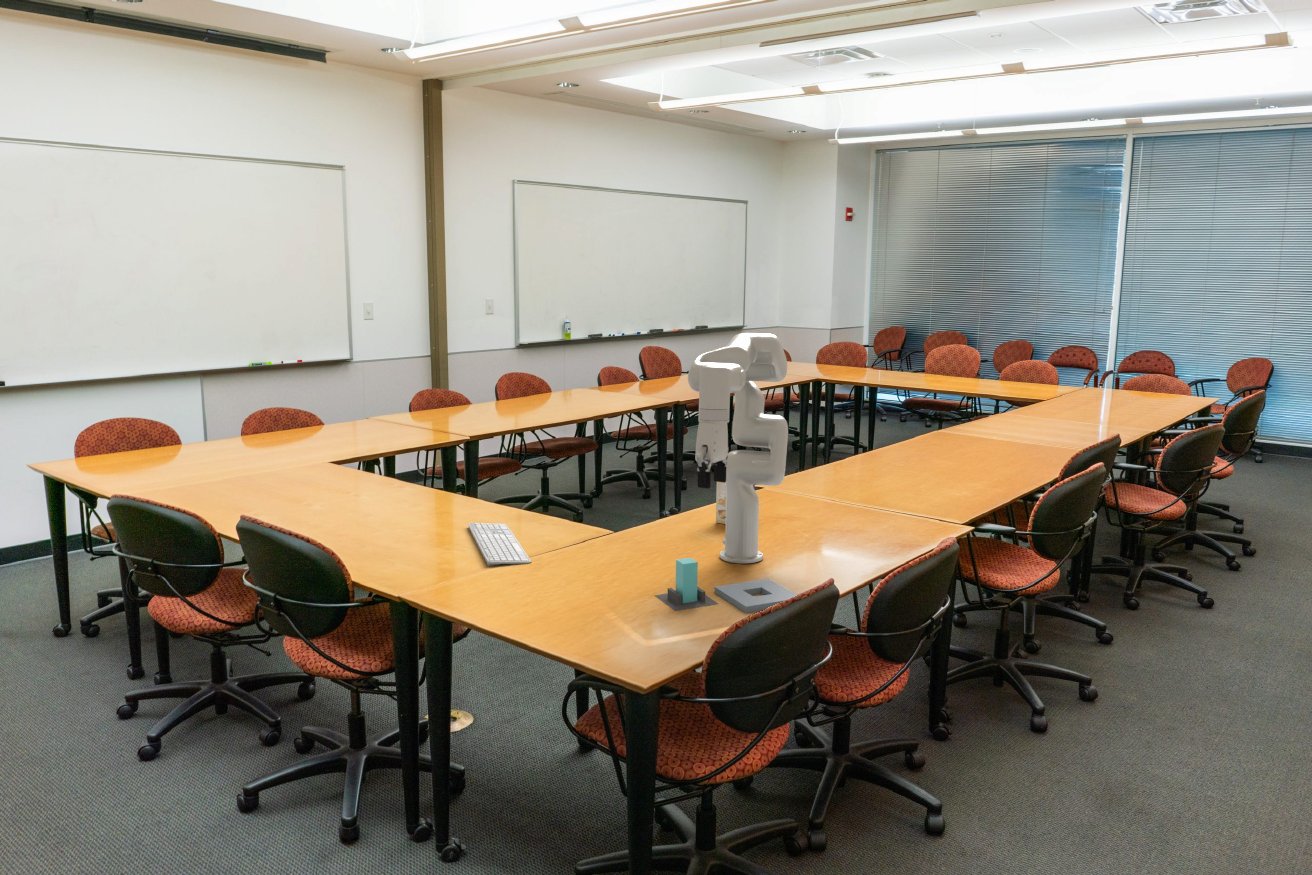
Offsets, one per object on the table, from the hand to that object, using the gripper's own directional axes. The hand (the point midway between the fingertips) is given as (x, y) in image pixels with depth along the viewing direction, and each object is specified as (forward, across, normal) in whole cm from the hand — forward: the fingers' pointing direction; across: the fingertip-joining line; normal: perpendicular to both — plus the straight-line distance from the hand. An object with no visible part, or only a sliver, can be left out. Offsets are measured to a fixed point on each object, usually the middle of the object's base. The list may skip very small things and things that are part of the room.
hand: (712, 484), depth 228 cm
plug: (+29, +4, -4) cm, 30 cm away
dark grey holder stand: (+30, +4, -4) cm, 30 cm away
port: (+30, -6, +11) cm, 32 cm away
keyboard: (+29, -17, -77) cm, 84 cm away
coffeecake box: (+27, -78, -25) cm, 86 cm away
